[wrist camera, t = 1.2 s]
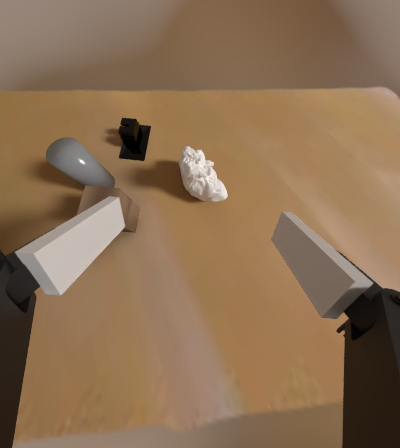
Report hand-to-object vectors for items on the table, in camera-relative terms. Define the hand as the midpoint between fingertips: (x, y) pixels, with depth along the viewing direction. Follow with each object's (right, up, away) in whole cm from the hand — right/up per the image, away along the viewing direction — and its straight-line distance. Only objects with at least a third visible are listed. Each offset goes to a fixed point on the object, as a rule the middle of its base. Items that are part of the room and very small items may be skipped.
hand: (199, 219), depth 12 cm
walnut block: (-15, +1, +16) cm, 22 cm away
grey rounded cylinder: (-20, +8, +18) cm, 28 cm away
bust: (0, +7, +18) cm, 20 cm away
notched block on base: (-14, +18, +21) cm, 31 cm away
